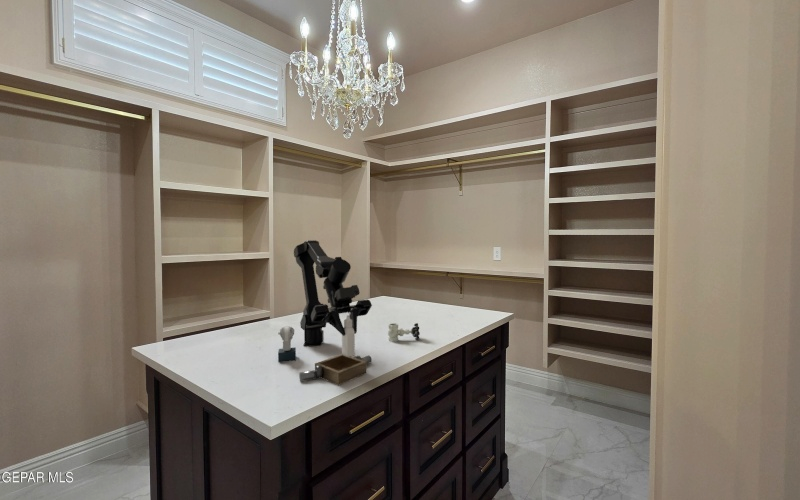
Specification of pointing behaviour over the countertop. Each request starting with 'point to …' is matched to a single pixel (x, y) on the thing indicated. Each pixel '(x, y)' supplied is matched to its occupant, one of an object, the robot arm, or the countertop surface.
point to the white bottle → (348, 338)
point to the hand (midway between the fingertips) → (350, 333)
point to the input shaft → (365, 358)
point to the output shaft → (311, 374)
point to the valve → (401, 332)
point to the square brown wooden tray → (342, 368)
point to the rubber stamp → (286, 345)
